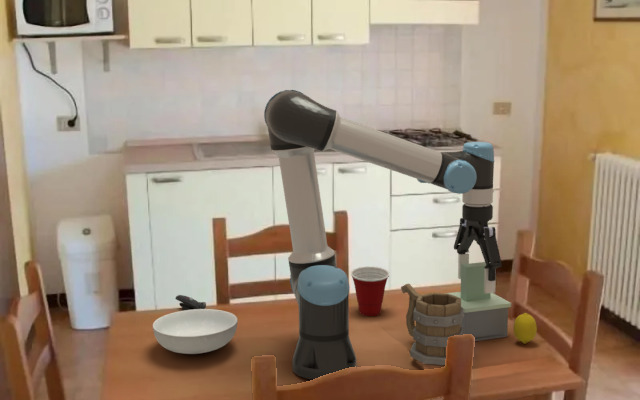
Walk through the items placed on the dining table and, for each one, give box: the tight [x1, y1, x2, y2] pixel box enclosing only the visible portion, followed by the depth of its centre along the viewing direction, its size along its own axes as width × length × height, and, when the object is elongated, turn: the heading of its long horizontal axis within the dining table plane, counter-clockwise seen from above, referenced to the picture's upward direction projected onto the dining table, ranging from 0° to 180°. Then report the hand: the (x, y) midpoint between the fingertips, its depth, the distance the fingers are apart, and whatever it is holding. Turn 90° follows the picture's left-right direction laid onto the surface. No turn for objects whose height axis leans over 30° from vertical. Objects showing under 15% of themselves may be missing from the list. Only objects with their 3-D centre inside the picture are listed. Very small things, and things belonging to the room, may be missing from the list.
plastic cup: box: [350, 266, 390, 317], centre depth 216 cm, size 11×11×12 cm
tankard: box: [400, 283, 464, 367], centre depth 188 cm, size 20×13×15 cm, turn 30°
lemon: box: [513, 312, 538, 345], centre depth 192 cm, size 6×6×8 cm
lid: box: [444, 261, 512, 313], centre depth 199 cm, size 13×13×11 cm
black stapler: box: [175, 294, 207, 311], centre depth 218 cm, size 18×7×6 cm, turn 28°
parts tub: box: [461, 307, 509, 342], centre depth 201 cm, size 12×12×8 cm
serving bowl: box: [152, 308, 239, 355], centre depth 193 cm, size 21×21×7 cm
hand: (476, 285), depth 199 cm, fingers open, 13 cm apart
